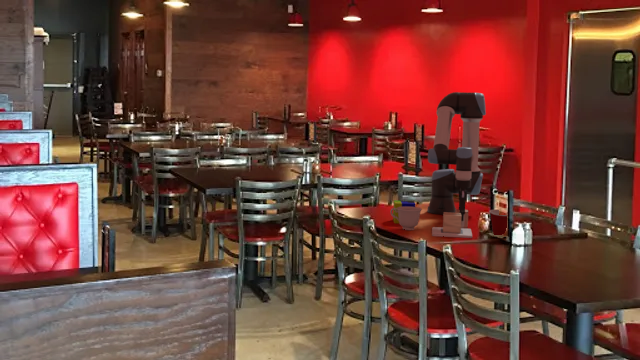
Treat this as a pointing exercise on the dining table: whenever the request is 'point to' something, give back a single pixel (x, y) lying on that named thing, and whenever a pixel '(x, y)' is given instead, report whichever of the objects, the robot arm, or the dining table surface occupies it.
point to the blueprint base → (439, 232)
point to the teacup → (407, 216)
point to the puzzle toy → (401, 204)
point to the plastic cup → (498, 222)
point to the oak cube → (452, 222)
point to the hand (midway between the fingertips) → (461, 226)
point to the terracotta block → (465, 217)
